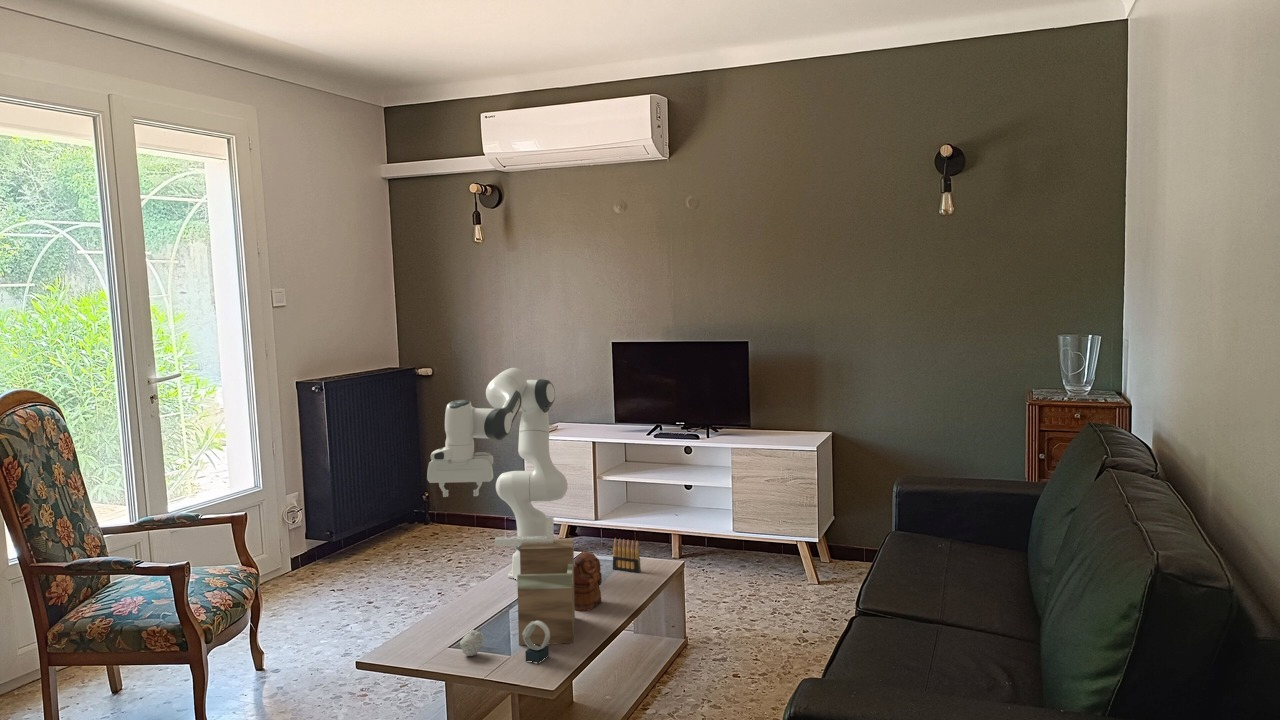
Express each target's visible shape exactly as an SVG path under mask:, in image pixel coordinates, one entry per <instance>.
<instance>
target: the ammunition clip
mask: <svg viewBox="0 0 1280 720" xmlns="http://www.w3.org/2000/svg"><path fill="white" fill-rule="evenodd" d="M612 551H613V554H612V555H613V556H612V570H613V571H617V572H618V571H620V572H625V573H635V574H640V573H641V572H642V569H641V558H640V553H641V552H640V547H639V540H636V541H635V542H634V540H633V539H632V540H631V542H630V540H629V539H627V541H626V540H625V539H624V538H623V540H621V538H619V539H618V541H617V537H614V540H613V549H612Z"/></svg>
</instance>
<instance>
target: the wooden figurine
mask: <svg viewBox="0 0 1280 720" xmlns="http://www.w3.org/2000/svg"><path fill="white" fill-rule="evenodd" d="M602 578H603V577H602V572H601V563H600V559H599V558H598V557H597V556H596V555H595V554H594V553H592V552H588V551H584V552H581V553H580V554H578V555H577V556H576V557H575V558H574V601H575V611H580V610H583V611H589V610H588V609H591V610H593V609H594V608H596V607H597V605H598V606H599V603H602V591H601V587H600V586H601V585H602ZM595 606H596V607H595ZM592 608H593V609H592Z"/></svg>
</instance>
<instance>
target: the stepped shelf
mask: <svg viewBox="0 0 1280 720" xmlns="http://www.w3.org/2000/svg"><path fill="white" fill-rule="evenodd" d="M574 553H575V549H574V538H573V537H572V538H571V537H569V538H554V544H553V545H528V546H521V547H520V574H518V575H517V580H516V581H517V617H518V618H517V620H518V621H517V622H518V645H519V646H527V645H526V643H525V642H526V641H524V639H523V635H522V633H523V631H524V629H525V628H526V626H527V625H528V624H529V623H530V622H532V621H534V622H535V621H536V620H538V621H542V622H544V623H545V624H546V625H547V626H548V628H549V631H550V639H549V642H548V643H573V644H574V637H573V636H574V633H575V622H576V621H575V619H576V615H575V614H576V613H575V611H576V610H575V601H574V564H575V563H574V562H575V557H574V555H575V554H574ZM545 628H546V627H545ZM529 638H530V640H531V642H532V643H533V644H541V645H542V644H543V641H544V638H545V632H544V630H543V629H542V628H541V627H540V626H538V625H536V628H535V630H534V631H533V632H532V634H531V635H530V637H529Z"/></svg>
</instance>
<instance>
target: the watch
mask: <svg viewBox="0 0 1280 720" xmlns="http://www.w3.org/2000/svg"><path fill="white" fill-rule="evenodd" d="M536 625H538V626H540V627H541V628H542V629H543V630H544V632H545V638H544V641H543V644H541V645H540V644H535V645H534V644H533V643H532V642H531V640H530V638H529V637H530V635H531V634H532V632H533V631H534V630H535V628H536ZM545 627H546V628H545ZM522 635H523V639H524V641H526V642H525V643H526V645H525V646H526V647H528V648H527V650H525V662H526V661H532V662H537V663H539V662H540V661H542V660H543V659H544V658H546V657H547V656H548V655H549V656H550V653H549V650H550V649H549V644H548V642H549V639H550V631H549V628H548V626H547V625H546V624H545V623H544V622H542V621H538V620H536V621H535V622H534V621H532V622H530V623H529V624H528V625H527V626H526V628H525V629H524V631H523V633H522ZM546 659H547V658H546Z"/></svg>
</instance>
